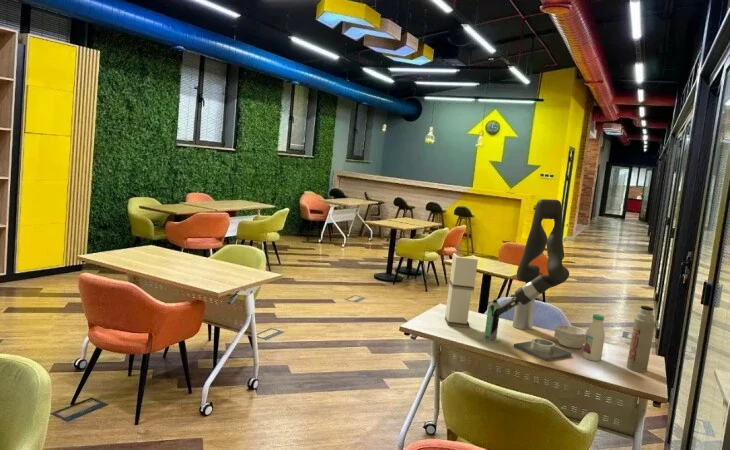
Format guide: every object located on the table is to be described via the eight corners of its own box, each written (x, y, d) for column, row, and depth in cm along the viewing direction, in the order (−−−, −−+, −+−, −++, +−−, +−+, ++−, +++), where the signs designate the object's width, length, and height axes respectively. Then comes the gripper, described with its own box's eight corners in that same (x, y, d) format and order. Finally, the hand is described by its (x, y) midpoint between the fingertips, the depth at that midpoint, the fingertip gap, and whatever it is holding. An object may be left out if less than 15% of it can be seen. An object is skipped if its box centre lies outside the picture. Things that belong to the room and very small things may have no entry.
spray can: (495, 343, 256) (501, 301, 253) (483, 341, 257) (489, 299, 254) (495, 340, 261) (501, 299, 259) (483, 338, 262) (489, 297, 260)
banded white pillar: (468, 327, 276) (477, 259, 272) (447, 325, 276) (456, 257, 272) (465, 321, 288) (473, 255, 283) (444, 319, 288) (453, 253, 283)
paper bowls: (558, 337, 276) (560, 322, 275) (590, 346, 268) (592, 330, 267) (549, 344, 264) (551, 328, 263) (581, 353, 255) (584, 336, 254)
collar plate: (539, 343, 264) (540, 333, 263) (571, 356, 249) (572, 346, 248) (513, 346, 254) (514, 337, 253) (545, 361, 239) (547, 351, 238)
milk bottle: (600, 357, 252) (607, 315, 249) (601, 362, 244) (608, 319, 242) (582, 353, 254) (589, 311, 252) (583, 359, 247) (589, 315, 244)
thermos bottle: (633, 372, 237) (643, 308, 233) (622, 364, 245) (633, 303, 241) (650, 373, 237) (661, 310, 234) (639, 366, 245) (650, 305, 242)
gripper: (525, 283, 257) (497, 302, 263) (519, 288, 244) (490, 308, 250) (535, 296, 255) (507, 315, 262) (530, 302, 243) (500, 322, 249)
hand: (499, 311), depth 256 cm, fingers open, 8 cm apart
